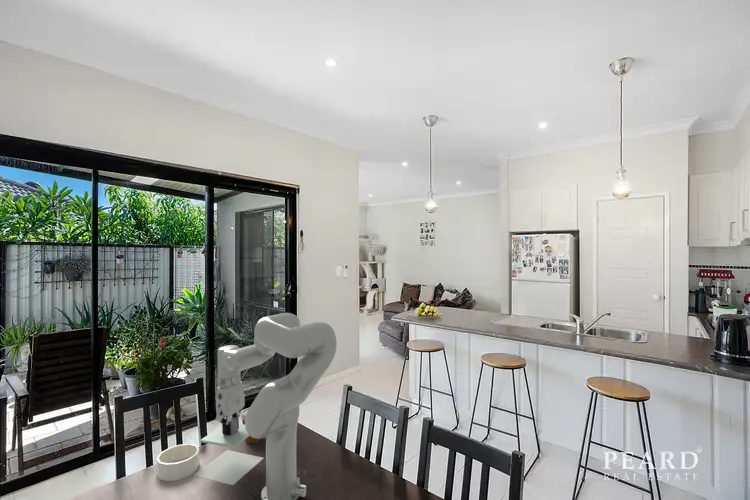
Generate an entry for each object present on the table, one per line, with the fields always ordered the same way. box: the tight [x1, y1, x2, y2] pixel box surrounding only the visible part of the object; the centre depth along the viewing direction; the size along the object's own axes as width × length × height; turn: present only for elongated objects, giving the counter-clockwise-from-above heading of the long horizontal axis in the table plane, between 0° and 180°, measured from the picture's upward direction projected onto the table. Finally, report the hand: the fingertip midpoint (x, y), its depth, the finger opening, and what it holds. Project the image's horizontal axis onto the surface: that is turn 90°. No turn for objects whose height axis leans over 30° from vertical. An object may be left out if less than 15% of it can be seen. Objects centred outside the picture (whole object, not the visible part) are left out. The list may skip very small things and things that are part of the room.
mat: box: [193, 449, 264, 486], centre depth 135 cm, size 17×17×1 cm
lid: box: [200, 416, 250, 449], centre depth 134 cm, size 14×14×6 cm
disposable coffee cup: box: [240, 407, 262, 444], centre depth 153 cm, size 10×10×12 cm
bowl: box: [156, 443, 200, 482], centre depth 133 cm, size 13×13×6 cm
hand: (230, 431), depth 134 cm, fingers closed on lid, 3 cm apart
